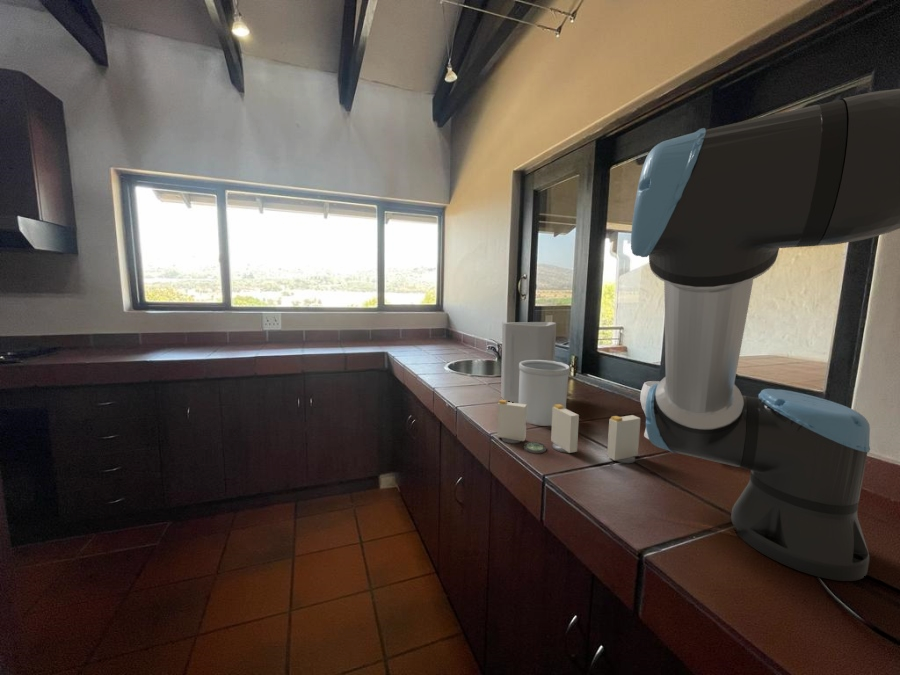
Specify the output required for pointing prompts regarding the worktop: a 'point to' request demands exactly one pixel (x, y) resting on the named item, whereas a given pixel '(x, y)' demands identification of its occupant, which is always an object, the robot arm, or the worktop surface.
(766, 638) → the worktop surface
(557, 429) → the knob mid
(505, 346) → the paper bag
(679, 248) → the robot arm
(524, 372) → the utensil holder
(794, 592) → the worktop surface
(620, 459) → the slab with yellow pad
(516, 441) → the cream slab
